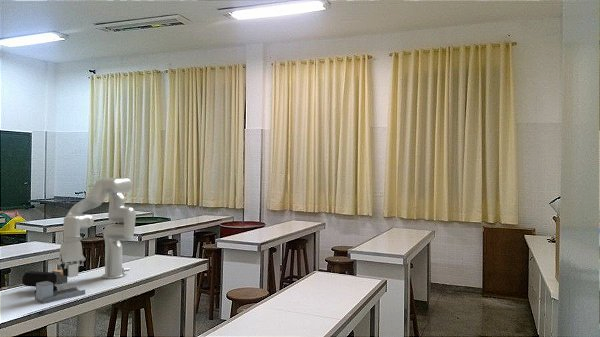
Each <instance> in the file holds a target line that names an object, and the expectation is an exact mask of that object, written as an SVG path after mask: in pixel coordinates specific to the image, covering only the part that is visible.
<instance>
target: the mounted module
mask: <svg viewBox="0 0 600 337" xmlns="http://www.w3.org/2000/svg"><path fill="white" fill-rule="evenodd" d="M35 290H36V292H35V295H36V298H37V299H39V300H41V301H42V299H43V298H48V297H52V296H53V283H51V282H49V281H44V282H39V283H36V287H35Z"/></svg>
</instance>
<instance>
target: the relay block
mask: <svg viewBox="0 0 600 337" xmlns="http://www.w3.org/2000/svg"><path fill="white" fill-rule="evenodd" d="M51 272H53V273H54V274H55V275H57V282H55V285H64V284H67V283H68V277H66V276H64V275H63V269H62V268H60V269H55V270H52V271H51Z"/></svg>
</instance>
